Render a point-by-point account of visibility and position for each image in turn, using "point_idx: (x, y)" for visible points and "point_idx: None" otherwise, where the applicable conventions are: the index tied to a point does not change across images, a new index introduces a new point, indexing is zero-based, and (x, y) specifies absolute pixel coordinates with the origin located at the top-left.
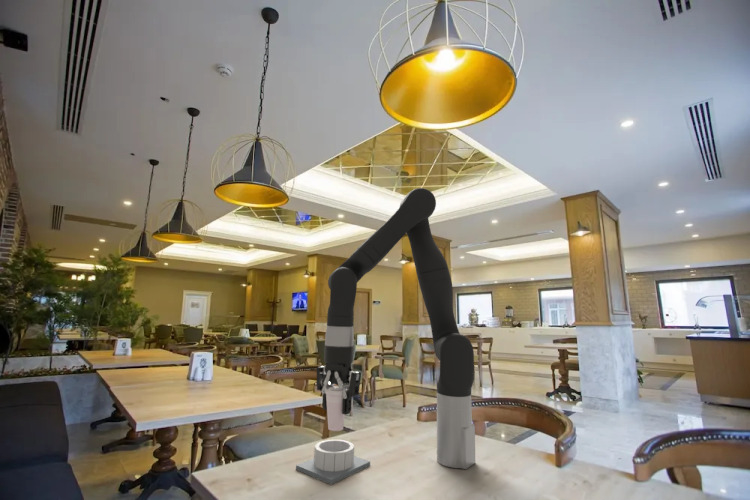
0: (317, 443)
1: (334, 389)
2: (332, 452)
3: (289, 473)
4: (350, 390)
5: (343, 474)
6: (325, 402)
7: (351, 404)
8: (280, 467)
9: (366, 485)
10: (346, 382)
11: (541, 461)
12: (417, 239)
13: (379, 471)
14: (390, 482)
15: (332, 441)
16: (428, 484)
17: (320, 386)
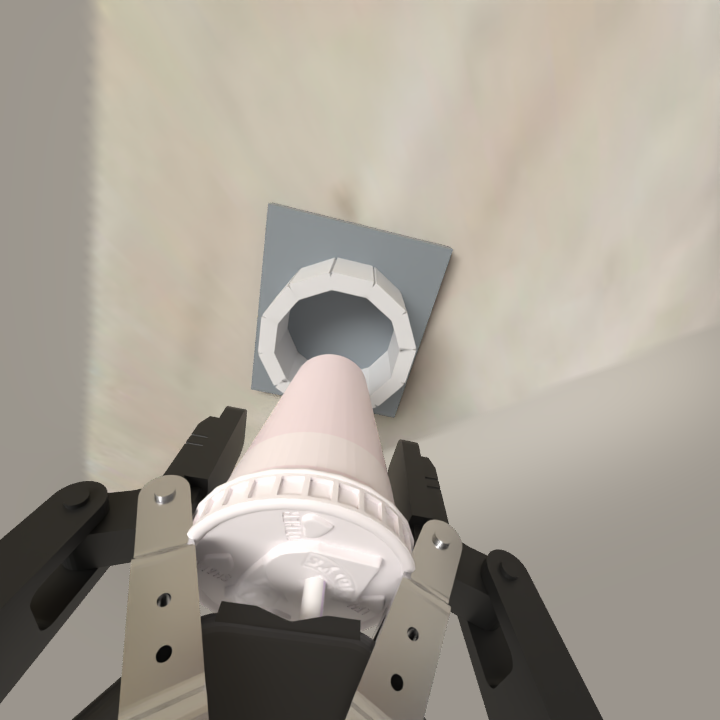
0: (262, 359)
1: (295, 605)
2: None
3: (258, 406)
4: (484, 655)
5: (408, 376)
6: (228, 478)
7: (440, 492)
8: (207, 389)
9: (483, 376)
10: (383, 646)
11: None
12: None
13: (495, 275)
14: (547, 331)
15: (293, 304)
16: (674, 289)
17: (100, 575)
